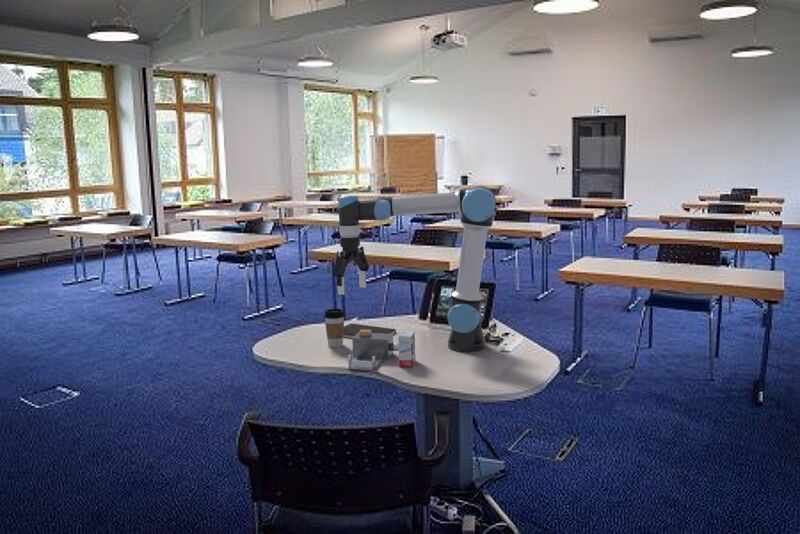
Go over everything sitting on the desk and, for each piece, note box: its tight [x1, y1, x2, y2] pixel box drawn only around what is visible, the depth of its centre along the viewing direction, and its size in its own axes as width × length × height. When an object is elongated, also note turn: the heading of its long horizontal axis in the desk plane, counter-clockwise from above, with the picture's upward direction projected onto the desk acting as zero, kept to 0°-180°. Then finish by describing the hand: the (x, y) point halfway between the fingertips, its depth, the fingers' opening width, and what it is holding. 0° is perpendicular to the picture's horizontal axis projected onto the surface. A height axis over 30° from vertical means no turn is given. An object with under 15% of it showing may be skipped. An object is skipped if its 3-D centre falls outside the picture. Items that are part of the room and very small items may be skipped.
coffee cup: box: [323, 308, 345, 349], centre depth 272 cm, size 8×8×15 cm
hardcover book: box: [343, 322, 397, 339], centre depth 289 cm, size 16×23×2 cm
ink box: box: [398, 330, 416, 368], centre depth 247 cm, size 9×5×12 cm, turn 168°
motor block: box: [351, 329, 399, 361], centre depth 257 cm, size 18×8×10 cm, turn 77°
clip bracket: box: [347, 354, 384, 371], centre depth 248 cm, size 10×12×5 cm
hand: (352, 290), depth 258 cm, fingers open, 13 cm apart
